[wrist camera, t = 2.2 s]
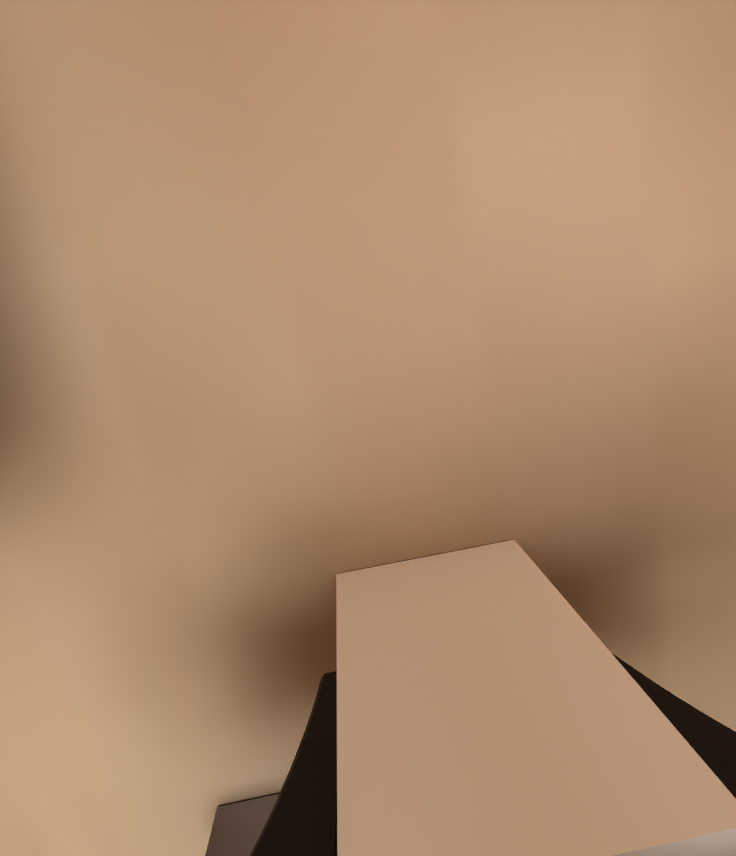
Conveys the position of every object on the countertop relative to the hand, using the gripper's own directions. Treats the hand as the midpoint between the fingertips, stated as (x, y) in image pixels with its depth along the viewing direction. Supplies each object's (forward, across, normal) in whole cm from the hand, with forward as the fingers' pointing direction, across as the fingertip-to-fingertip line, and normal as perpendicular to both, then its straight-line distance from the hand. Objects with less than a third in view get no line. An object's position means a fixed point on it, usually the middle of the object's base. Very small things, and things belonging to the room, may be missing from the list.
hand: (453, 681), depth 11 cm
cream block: (+2, 0, 0) cm, 2 cm away
